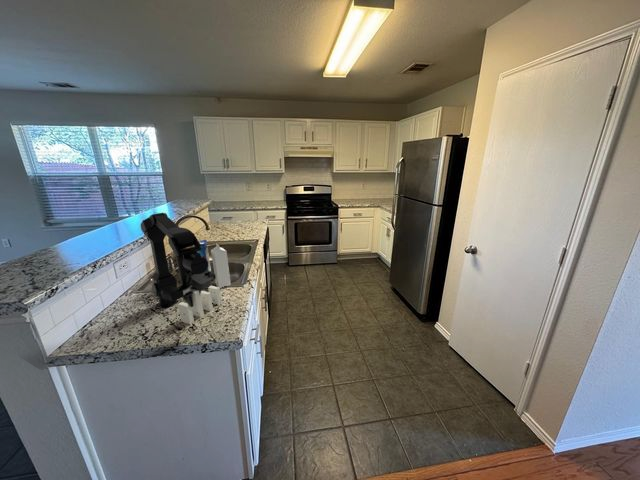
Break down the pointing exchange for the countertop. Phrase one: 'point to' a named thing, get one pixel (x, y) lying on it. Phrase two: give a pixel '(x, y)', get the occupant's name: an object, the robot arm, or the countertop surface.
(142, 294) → the countertop surface
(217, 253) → the milk
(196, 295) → the domino
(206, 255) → the blue cardboard box
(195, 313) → the domino
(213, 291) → the domino
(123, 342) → the countertop surface
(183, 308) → the domino
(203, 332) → the countertop surface
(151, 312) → the countertop surface
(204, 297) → the domino
